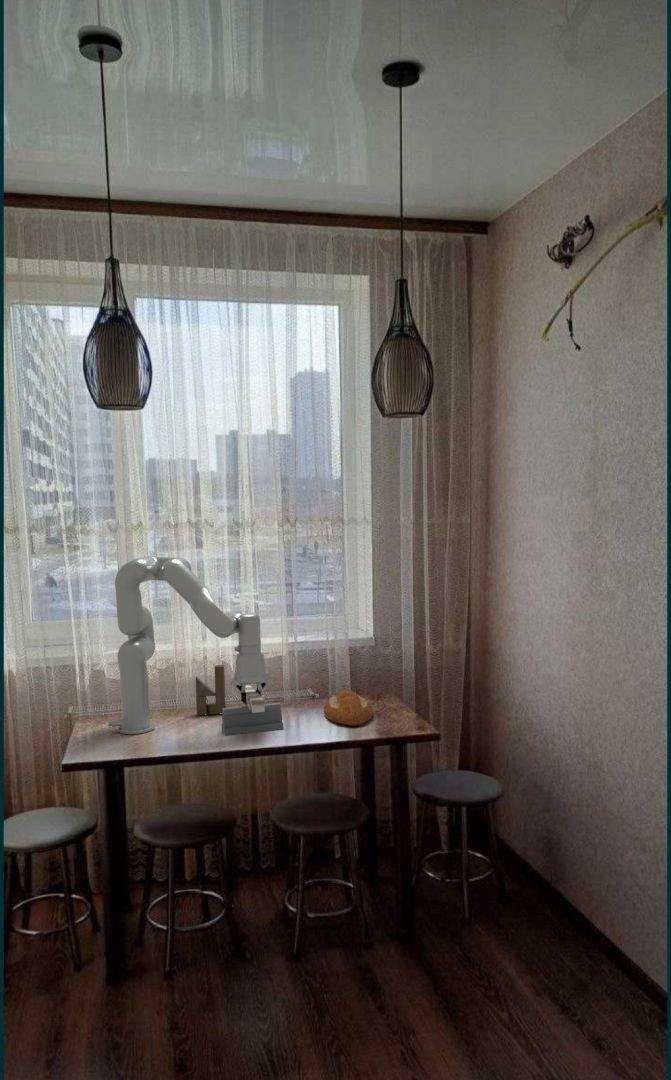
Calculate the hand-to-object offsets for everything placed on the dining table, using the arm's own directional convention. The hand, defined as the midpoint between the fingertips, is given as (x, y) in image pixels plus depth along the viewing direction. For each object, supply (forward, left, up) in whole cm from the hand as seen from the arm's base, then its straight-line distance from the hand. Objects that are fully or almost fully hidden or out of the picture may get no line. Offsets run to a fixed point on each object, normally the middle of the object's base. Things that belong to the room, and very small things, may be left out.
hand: (251, 702), depth 291 cm
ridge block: (0, 0, -9) cm, 9 cm away
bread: (+36, +5, -10) cm, 38 cm away
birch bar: (0, 0, -1) cm, 1 cm away
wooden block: (-10, +27, -10) cm, 30 cm away
